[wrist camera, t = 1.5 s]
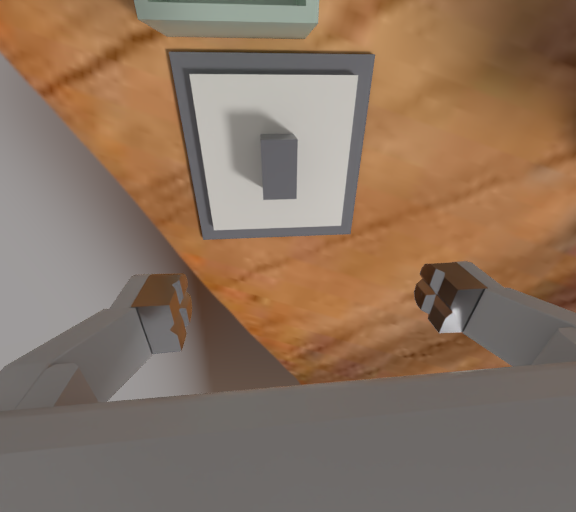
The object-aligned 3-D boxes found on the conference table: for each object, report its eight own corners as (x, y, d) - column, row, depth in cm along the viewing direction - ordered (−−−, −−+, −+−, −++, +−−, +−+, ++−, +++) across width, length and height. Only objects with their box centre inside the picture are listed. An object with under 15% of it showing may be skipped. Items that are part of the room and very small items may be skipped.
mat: (373, 55, 23) (375, 54, 23) (349, 232, 32) (350, 233, 32) (170, 52, 22) (168, 51, 21) (204, 238, 31) (203, 239, 30)
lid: (355, 75, 23) (373, 72, 20) (339, 222, 31) (349, 240, 27) (191, 74, 22) (177, 71, 19) (214, 227, 30) (208, 246, 26)
